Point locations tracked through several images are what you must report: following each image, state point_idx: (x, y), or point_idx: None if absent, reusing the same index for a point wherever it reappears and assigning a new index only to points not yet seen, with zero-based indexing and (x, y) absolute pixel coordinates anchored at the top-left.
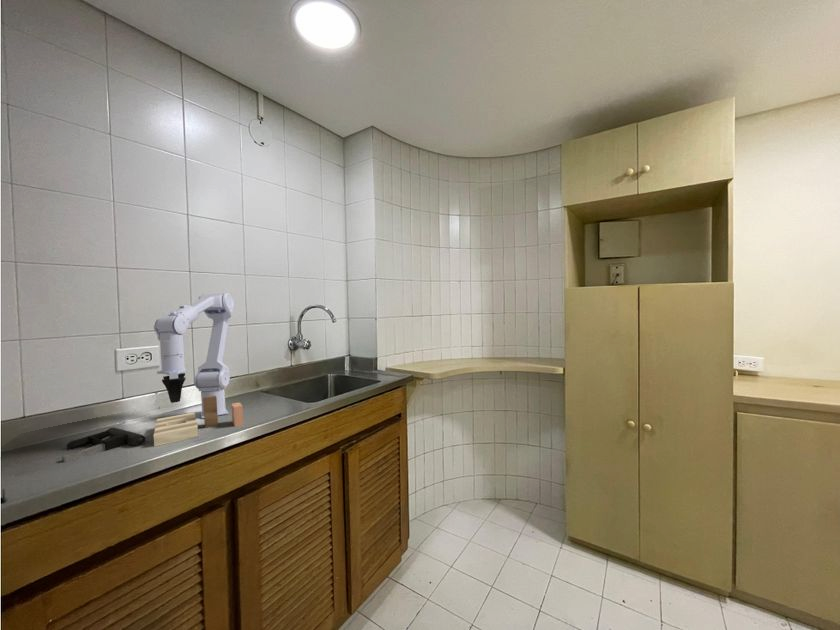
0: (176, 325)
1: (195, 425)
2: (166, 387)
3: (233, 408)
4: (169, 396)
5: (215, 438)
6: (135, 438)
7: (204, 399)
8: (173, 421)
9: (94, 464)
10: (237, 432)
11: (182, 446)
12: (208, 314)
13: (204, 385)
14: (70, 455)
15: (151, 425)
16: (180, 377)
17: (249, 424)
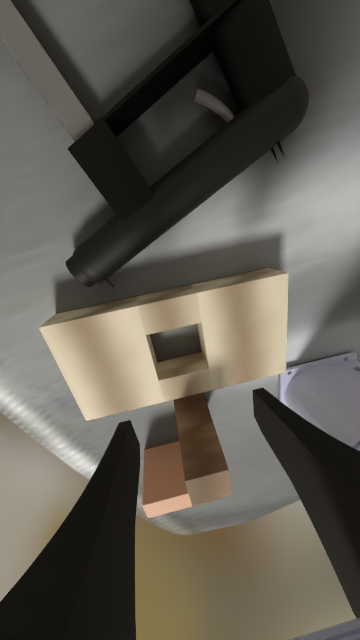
0: None
1: (102, 413)
2: (48, 543)
3: (152, 496)
4: (103, 456)
5: (59, 434)
6: (70, 261)
7: (185, 481)
8: (204, 339)
9: None
10: (86, 462)
11: (22, 383)
12: None
13: None
14: None
15: (331, 234)
16: (343, 569)
17: (141, 471)
